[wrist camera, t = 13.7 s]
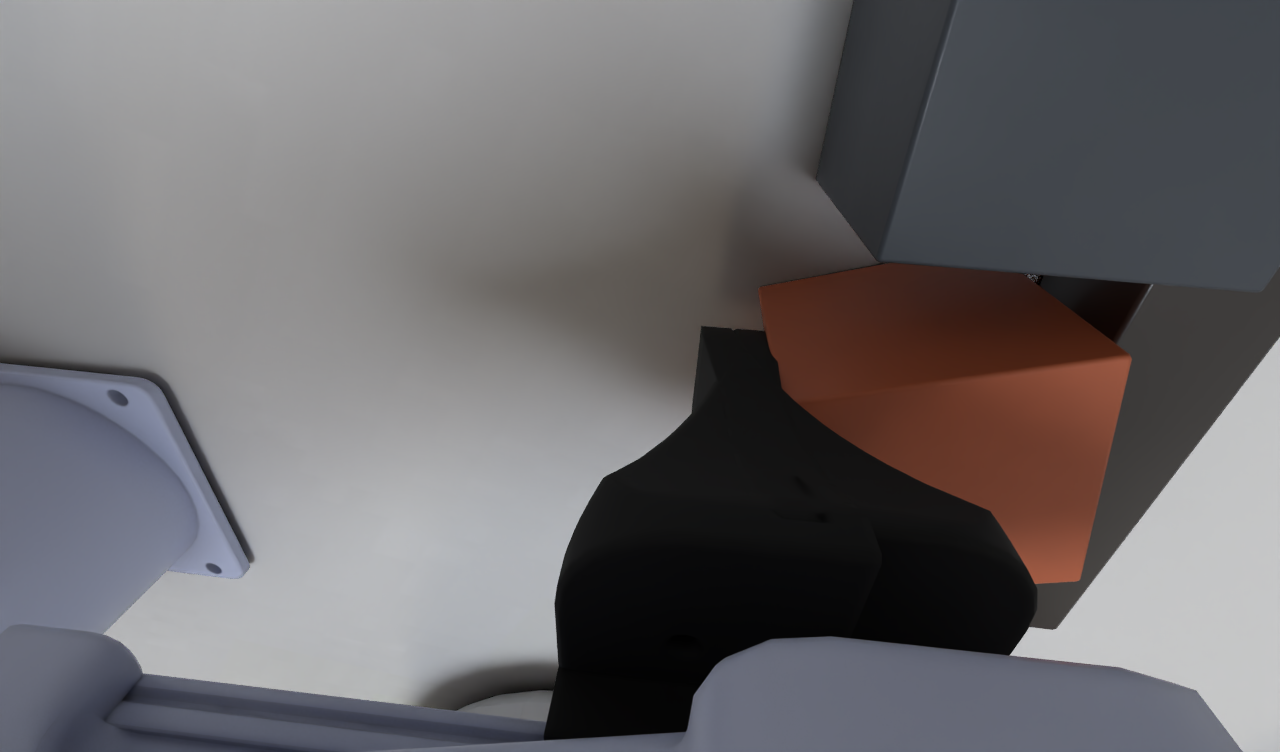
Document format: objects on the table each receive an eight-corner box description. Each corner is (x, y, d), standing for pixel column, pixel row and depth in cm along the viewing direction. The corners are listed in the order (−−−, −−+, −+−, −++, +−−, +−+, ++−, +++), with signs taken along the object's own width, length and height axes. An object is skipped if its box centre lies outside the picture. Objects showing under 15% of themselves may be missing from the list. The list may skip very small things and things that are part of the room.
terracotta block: (781, 446, 14) (807, 599, 10) (757, 285, 12) (779, 403, 8) (973, 423, 13) (1081, 583, 9) (986, 243, 11) (1135, 355, 7)
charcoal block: (815, 180, 11) (875, 263, 7) (881, -132, 8) (1034, -278, 4) (1057, 198, 10) (1263, 294, 6) (1199, -120, 8) (1663, -265, 4)
